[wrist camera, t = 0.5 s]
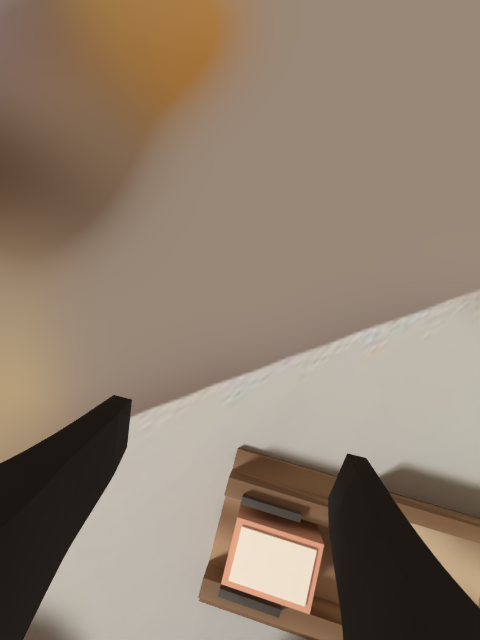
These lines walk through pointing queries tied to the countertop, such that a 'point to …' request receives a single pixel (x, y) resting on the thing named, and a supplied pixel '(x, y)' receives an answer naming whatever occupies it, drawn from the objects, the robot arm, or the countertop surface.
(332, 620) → the wooden tray
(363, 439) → the countertop surface
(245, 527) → the block
